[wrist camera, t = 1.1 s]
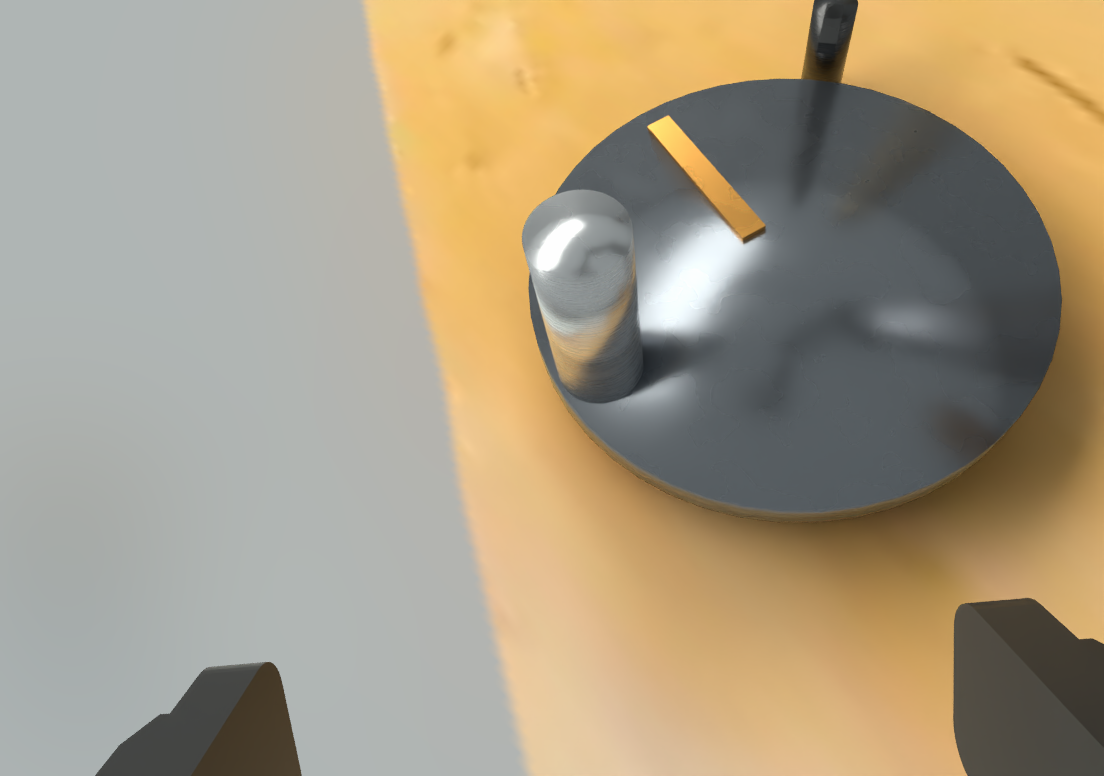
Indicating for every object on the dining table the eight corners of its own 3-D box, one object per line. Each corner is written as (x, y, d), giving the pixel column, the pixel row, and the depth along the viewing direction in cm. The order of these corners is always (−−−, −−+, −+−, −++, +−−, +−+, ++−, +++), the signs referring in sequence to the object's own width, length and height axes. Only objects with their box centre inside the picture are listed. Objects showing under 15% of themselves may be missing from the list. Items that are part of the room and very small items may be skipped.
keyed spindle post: (830, 82, 45) (850, -15, 40) (964, 396, 36) (1013, 324, 31) (598, 131, 46) (587, 42, 41) (673, 451, 37) (672, 390, 32)
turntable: (936, 62, 42) (1008, -151, 33) (1145, 464, 32) (1337, 320, 22) (506, 152, 43) (459, -29, 34) (574, 569, 33) (533, 472, 24)
